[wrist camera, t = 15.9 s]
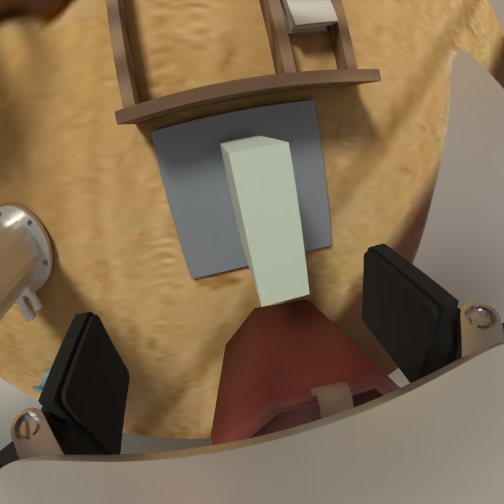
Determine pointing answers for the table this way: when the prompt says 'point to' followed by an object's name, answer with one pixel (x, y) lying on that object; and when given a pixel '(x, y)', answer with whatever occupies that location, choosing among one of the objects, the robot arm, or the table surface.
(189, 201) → the mat
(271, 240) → the pale green block
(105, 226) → the table surface
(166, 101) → the rack
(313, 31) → the offcut lower
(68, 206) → the table surface
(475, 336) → the robot arm
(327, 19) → the offcut upper
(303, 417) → the bucket
